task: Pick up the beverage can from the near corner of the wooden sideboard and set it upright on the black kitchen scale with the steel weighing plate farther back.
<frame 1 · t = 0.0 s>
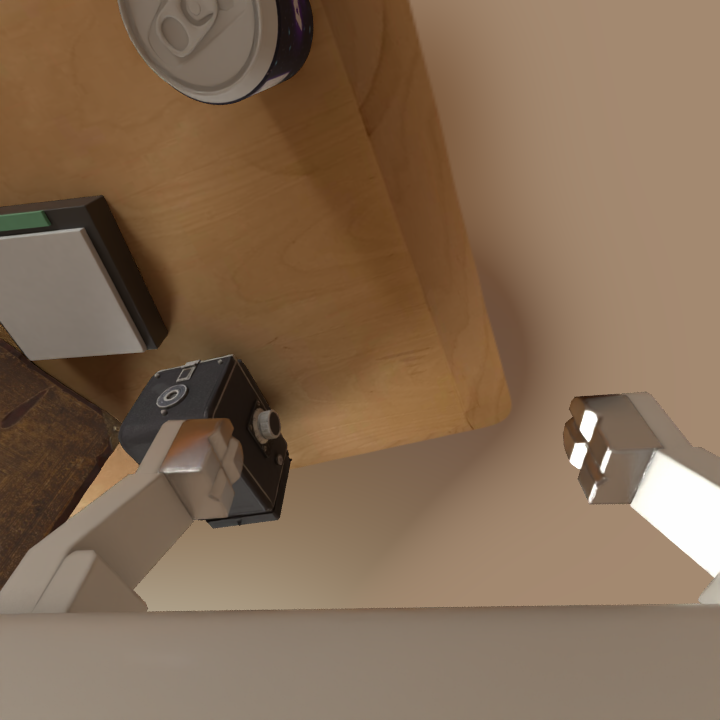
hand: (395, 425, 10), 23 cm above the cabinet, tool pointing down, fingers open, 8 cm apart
camera: (238, 395, 42), on the cabinet
book: (46, 385, 42), on the cabinet
scale: (70, 278, 34), on the cabinet
beverage can: (266, 23, 24), on the cabinet
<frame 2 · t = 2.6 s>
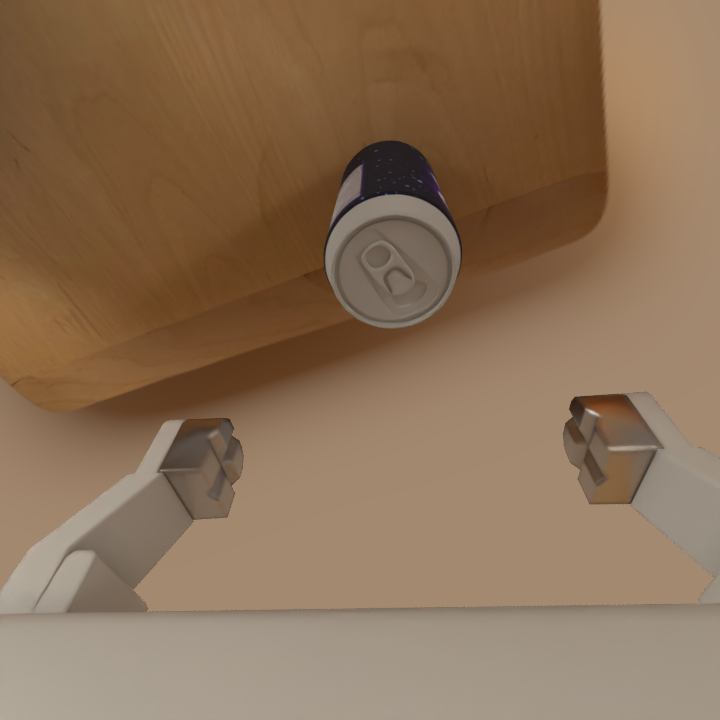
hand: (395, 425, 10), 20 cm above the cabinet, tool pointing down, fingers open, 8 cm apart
beverage can: (387, 188, 26), on the cabinet
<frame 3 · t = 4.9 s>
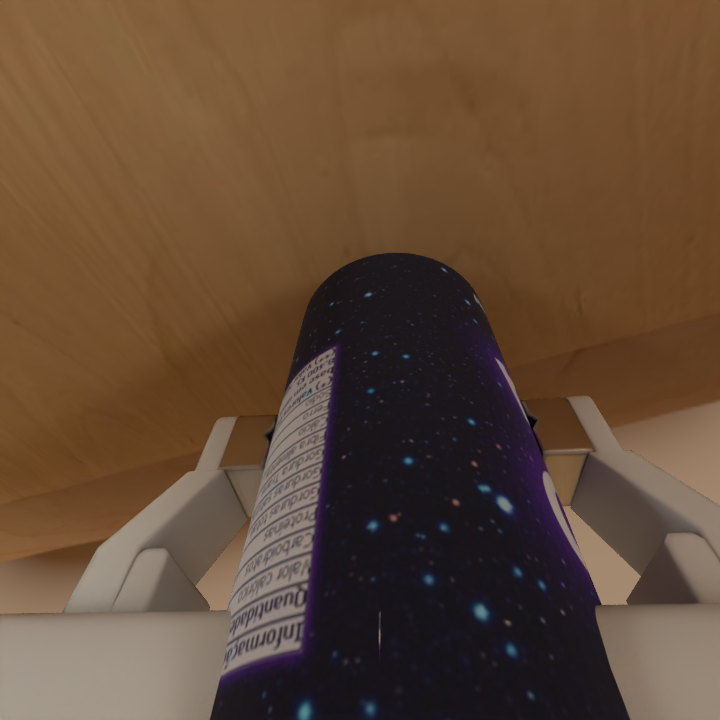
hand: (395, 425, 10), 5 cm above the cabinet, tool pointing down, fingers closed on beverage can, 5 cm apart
beverage can: (391, 319, 14), on the cabinet, touching gripper
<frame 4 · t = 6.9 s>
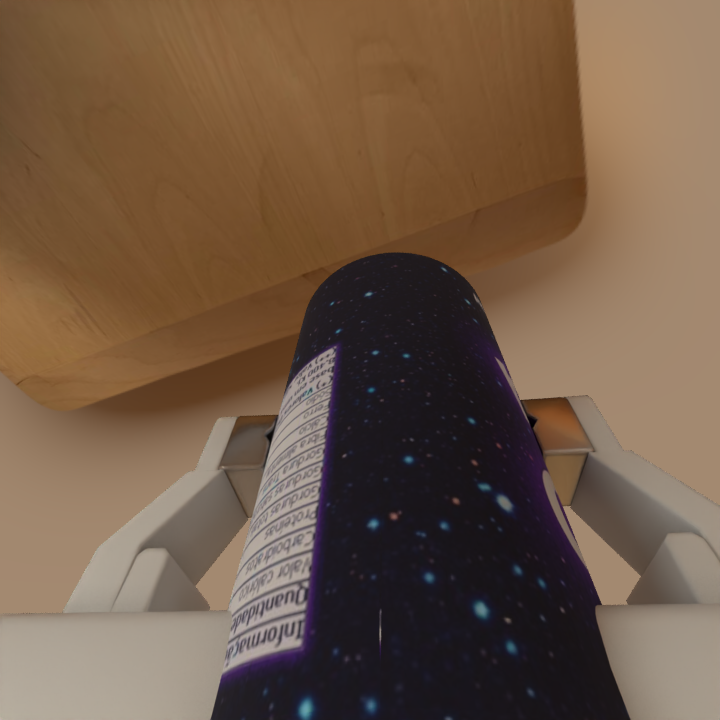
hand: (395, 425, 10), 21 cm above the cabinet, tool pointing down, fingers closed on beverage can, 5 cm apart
beverage can: (392, 319, 14), point 16 cm above the cabinet, touching gripper
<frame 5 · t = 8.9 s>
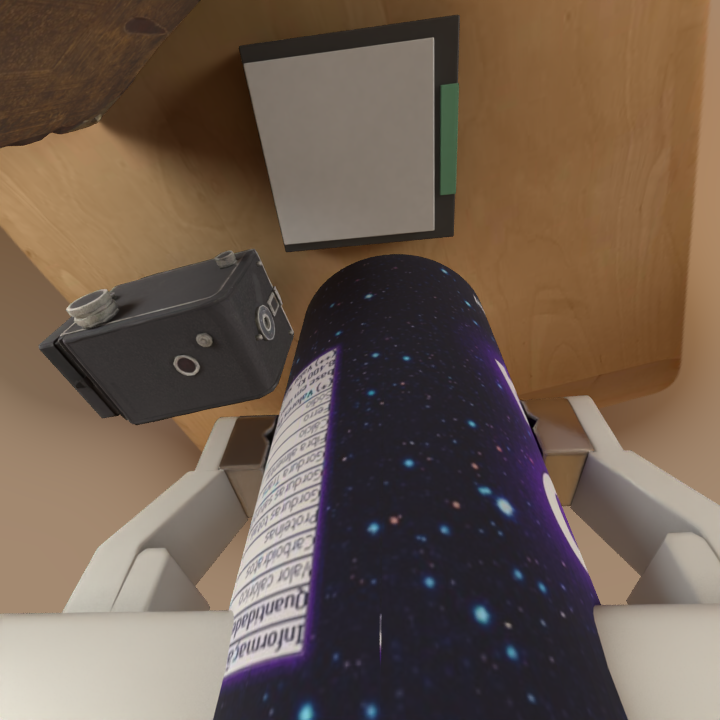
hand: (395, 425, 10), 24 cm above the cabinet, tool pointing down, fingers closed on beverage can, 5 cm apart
camera: (209, 293, 35), on the cabinet
scale: (359, 145, 28), on the cabinet
beverage can: (392, 320, 14), point 19 cm above the cabinet, touching gripper
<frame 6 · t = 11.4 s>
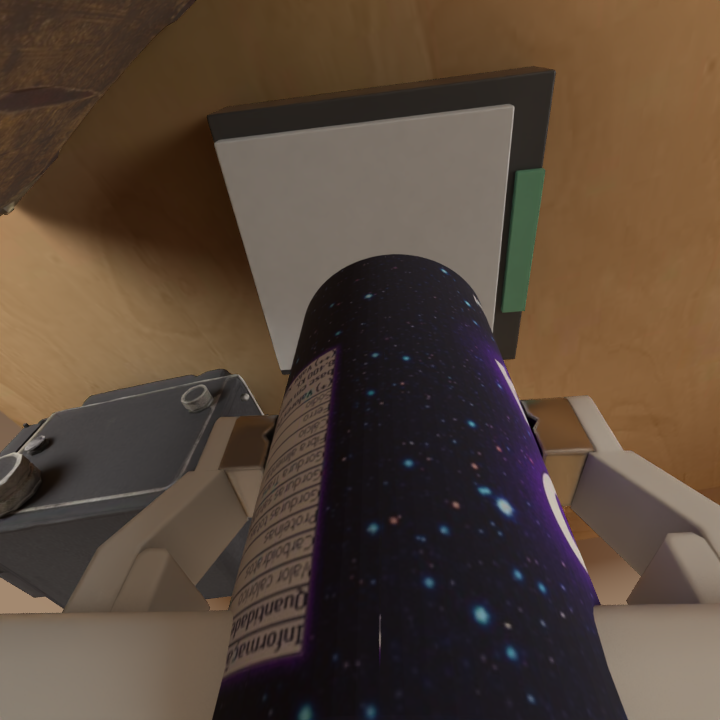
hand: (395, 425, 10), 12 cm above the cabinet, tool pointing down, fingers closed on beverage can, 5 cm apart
camera: (183, 405, 27), on the cabinet
book: (71, 29, 15), on the cabinet
scale: (386, 237, 20), on the cabinet
beverage can: (392, 320, 14), point 7 cm above the cabinet, touching gripper
when the fingers open (7 cm above the cabinet, at t = 13.1 s): beverage can stays where it is, resting on scale.
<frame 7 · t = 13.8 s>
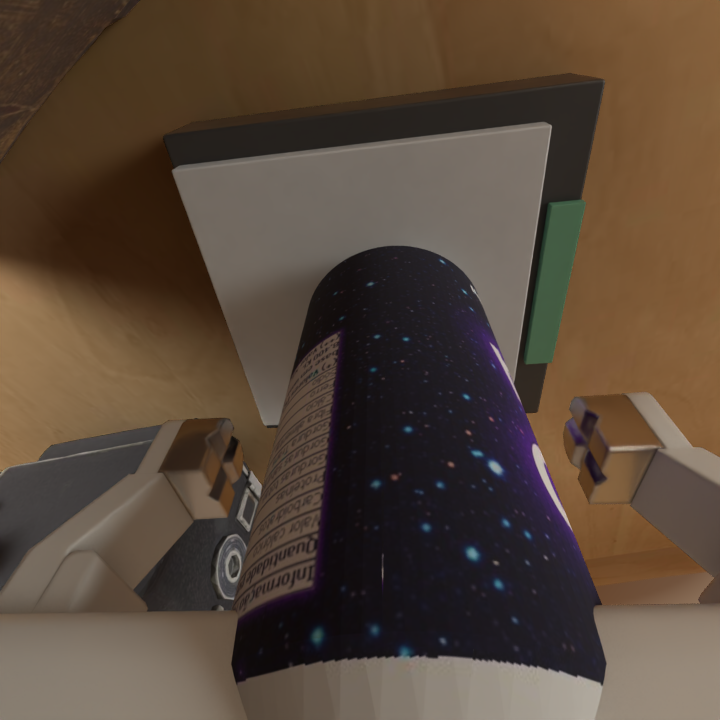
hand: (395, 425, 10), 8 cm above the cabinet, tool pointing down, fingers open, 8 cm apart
camera: (159, 450, 24), on the cabinet
scale: (387, 273, 17), on the cabinet
beverage can: (392, 310, 14), point 3 cm above the cabinet, touching scale
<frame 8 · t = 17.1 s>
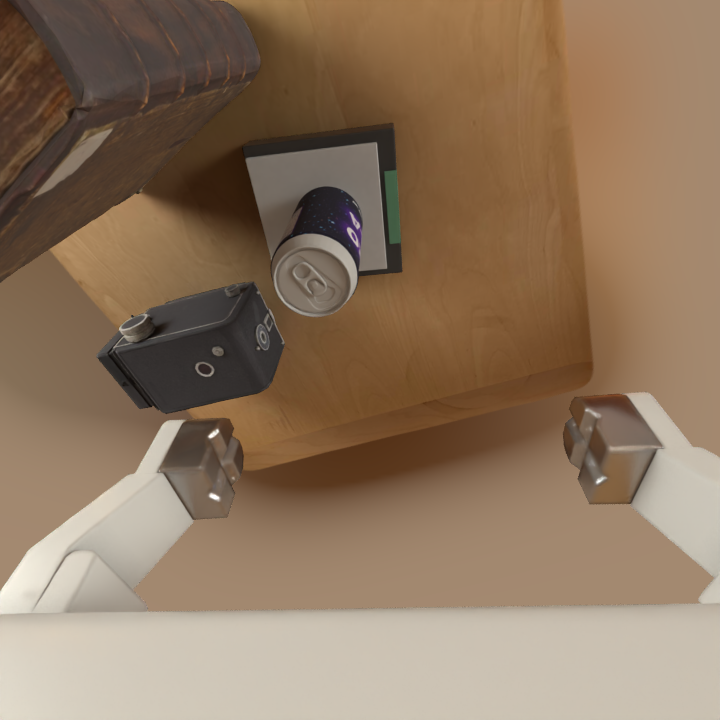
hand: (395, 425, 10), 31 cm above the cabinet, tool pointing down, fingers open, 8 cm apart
camera: (218, 312, 45), on the cabinet
book: (179, 106, 33), on the cabinet
scale: (331, 206, 38), on the cabinet
beverage can: (329, 217, 35), point 3 cm above the cabinet, touching scale
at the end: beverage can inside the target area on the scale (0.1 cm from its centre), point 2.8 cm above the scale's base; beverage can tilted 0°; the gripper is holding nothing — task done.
